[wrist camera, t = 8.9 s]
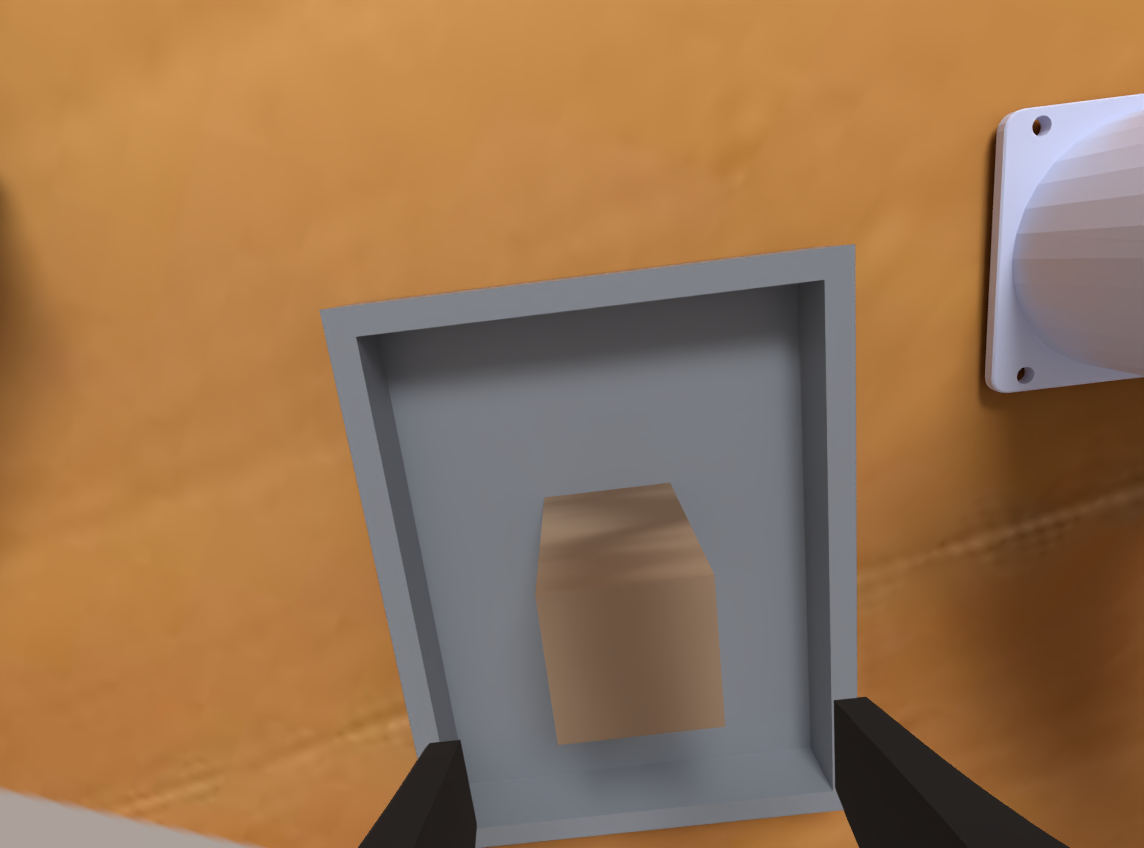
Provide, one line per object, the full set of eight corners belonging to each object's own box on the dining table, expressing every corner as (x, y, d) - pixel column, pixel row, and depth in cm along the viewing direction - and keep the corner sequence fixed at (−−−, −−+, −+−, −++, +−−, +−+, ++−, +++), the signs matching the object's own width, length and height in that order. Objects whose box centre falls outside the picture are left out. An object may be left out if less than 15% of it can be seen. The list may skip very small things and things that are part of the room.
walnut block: (669, 482, 19) (714, 574, 14) (679, 595, 20) (725, 726, 15) (544, 497, 20) (535, 595, 14) (560, 609, 21) (558, 744, 15)
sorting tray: (817, 247, 18) (855, 244, 16) (826, 750, 23) (857, 808, 20) (351, 304, 19) (319, 310, 16) (451, 790, 23) (438, 852, 21)
